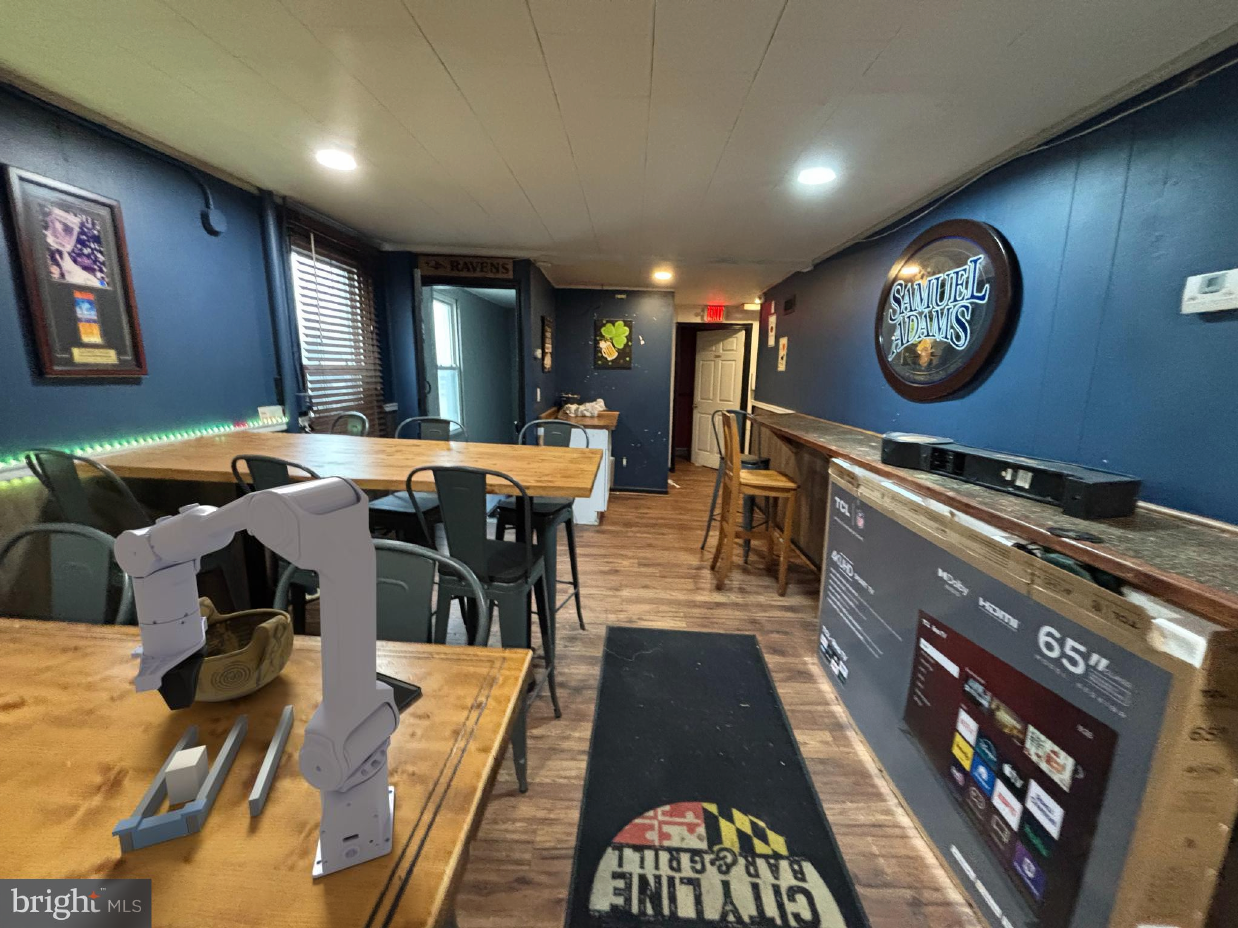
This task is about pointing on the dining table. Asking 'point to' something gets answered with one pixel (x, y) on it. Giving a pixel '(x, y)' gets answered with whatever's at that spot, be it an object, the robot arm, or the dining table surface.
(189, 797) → the cream rectangular box
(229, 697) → the ceramic bowl
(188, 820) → the metal rails
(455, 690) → the dining table surface
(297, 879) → the dining table surface
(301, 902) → the dining table surface
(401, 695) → the black tray
